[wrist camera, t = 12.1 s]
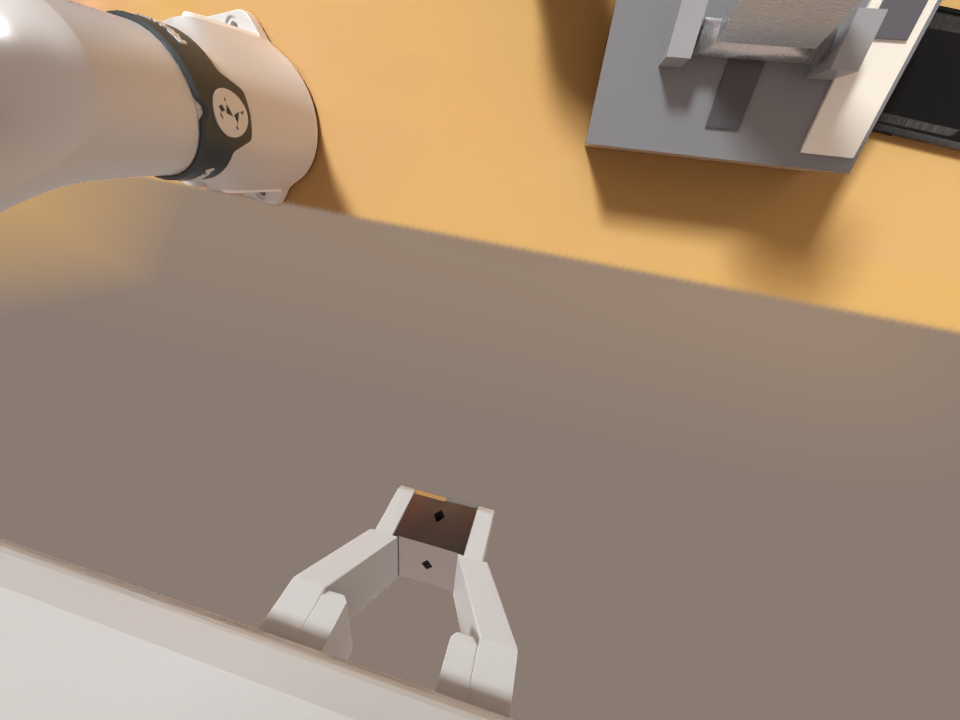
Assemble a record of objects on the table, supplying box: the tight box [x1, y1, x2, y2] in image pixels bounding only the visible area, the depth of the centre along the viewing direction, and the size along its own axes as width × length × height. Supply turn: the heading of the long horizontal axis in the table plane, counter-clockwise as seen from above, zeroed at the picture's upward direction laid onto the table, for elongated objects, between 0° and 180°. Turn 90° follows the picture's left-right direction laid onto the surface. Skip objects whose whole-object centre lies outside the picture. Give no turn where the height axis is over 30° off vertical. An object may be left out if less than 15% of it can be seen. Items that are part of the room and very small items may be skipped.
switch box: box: [585, 0, 942, 174], centre depth 28 cm, size 20×14×10 cm
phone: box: [872, 6, 960, 151], centre depth 30 cm, size 8×1×15 cm
